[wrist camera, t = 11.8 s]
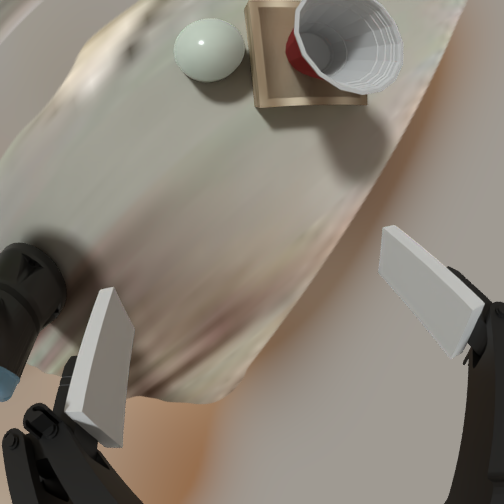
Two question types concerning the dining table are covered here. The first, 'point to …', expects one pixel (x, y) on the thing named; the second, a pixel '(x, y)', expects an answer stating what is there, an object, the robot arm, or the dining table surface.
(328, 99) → the maple open box
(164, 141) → the dining table surface
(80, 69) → the dining table surface
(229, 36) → the pale green ball
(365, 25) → the plastic cup
